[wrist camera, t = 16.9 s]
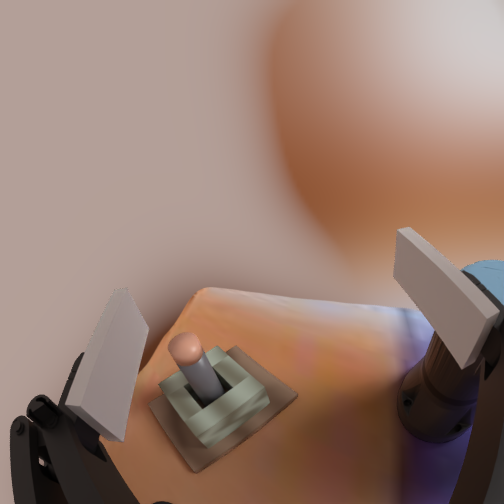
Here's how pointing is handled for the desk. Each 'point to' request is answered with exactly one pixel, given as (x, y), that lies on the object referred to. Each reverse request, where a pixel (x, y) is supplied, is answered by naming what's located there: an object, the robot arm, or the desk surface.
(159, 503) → the blender logo cutout
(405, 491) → the desk surface
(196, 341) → the peg
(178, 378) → the socket
